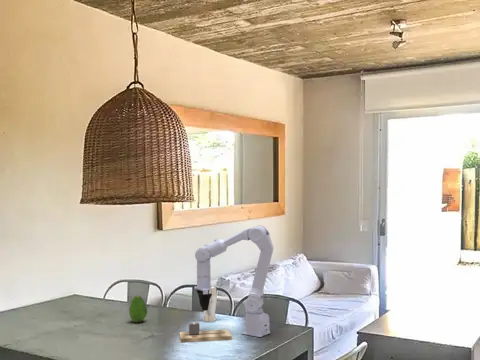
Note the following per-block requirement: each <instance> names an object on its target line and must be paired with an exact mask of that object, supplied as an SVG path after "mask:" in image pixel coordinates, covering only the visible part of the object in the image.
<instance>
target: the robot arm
mask: <svg viewBox="0 0 480 360" xmlns="http://www.w3.org/2000/svg"><path fill="white" fill-rule="evenodd" d="M241 241H250V242H252V243H254V244H255V245H256V246H257V248H258V249H259V251H260V253H259V257H258V261H257V264H256V270H255V274H254V277H253V282H252V285H251V287H250V291H249V293H248V296H247V298H246V299H245V301H244V304H243V305H244V310H245V331H242V332H241V335H246V336H252V337H257V338H262V337H264V336H267V335H268V334H269V335H270V334H271V331H270V316H269V314H268V313H265V312H264V309H263V308H262V307H263V305H264V290H265V289H264V288H265V285H266V281H267V276H268V272H269V269H270V264H271V260H272V255H273V252H274V245H273V241H272V239H271V235H270V231H269V230H268V229H267V228H266V226H263V225H257V226H253V227H250V228H247V229H243V230H241V231H239V232H237V233H235V234H234V235H231V236H230V237H228V238H226V239H222V238H219V239H218V238H215V239H213V241H212V242H211V243H209V244H206V243H205V244H204V246H203V247H199V248H197V250H196V251H195V253H194V257H195V259H196V286H194V289H196V290H195V291H196V294H197V295H198V299H199V305H200V307H201V311H207V310H208V306H209V301H210V298H211V296H212V294H208V293H209V291H210V289H211V286H212V284H211V279H212V278H211V259H212V258H215V257H216V256H219V255H221V254H223V253H224V252H227V248H228V247H230V246H232V245H235V244H236V243H238V242H241Z"/></svg>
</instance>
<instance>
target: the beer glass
mask: <svg viewBox="0 0 480 360" xmlns="http://www.w3.org/2000/svg"><path fill="white" fill-rule="evenodd" d="M208 294H212V296H211V298H210V301H209V306H208V310H207V311H203V310H202V311H203V314H202V315H203V316H202V321H203V322H205V323H212V322H216V320H217V318H216V307H217V302H218V301H217V299H218V293H217V286H215V285H211V289H210V291H209V293H208Z"/></svg>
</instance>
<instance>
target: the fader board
mask: <svg viewBox="0 0 480 360" xmlns="http://www.w3.org/2000/svg"><path fill="white" fill-rule="evenodd" d="M178 335H179V339H180V343H181V344H182V343H194V342H195V343H198V342H212V341H213V342H214V341H215V340H217V341H228V340H229V341H232V340H233V336H232V333H231V332H230V331H229V329H214V330H211V329H210V330H199V334H192V335H189V331H180V332H179V334H178Z"/></svg>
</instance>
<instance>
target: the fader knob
mask: <svg viewBox="0 0 480 360" xmlns="http://www.w3.org/2000/svg"><path fill="white" fill-rule="evenodd" d="M199 331H200V322H189V323H188V332H189V335H192V334H199Z"/></svg>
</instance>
